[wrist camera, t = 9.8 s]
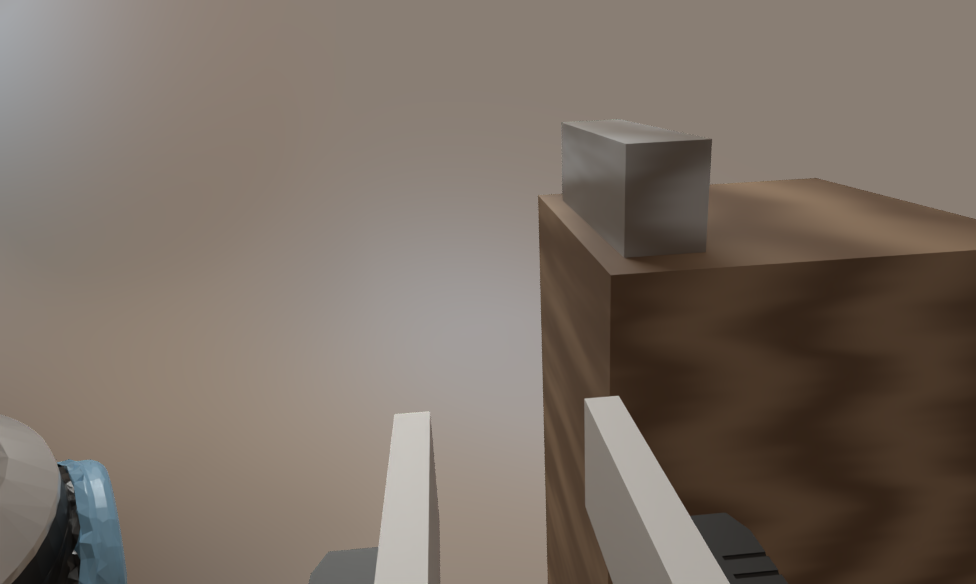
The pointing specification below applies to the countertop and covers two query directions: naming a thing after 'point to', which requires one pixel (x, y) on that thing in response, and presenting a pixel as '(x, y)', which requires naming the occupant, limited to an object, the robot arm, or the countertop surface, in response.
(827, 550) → the brown wooden tall block
